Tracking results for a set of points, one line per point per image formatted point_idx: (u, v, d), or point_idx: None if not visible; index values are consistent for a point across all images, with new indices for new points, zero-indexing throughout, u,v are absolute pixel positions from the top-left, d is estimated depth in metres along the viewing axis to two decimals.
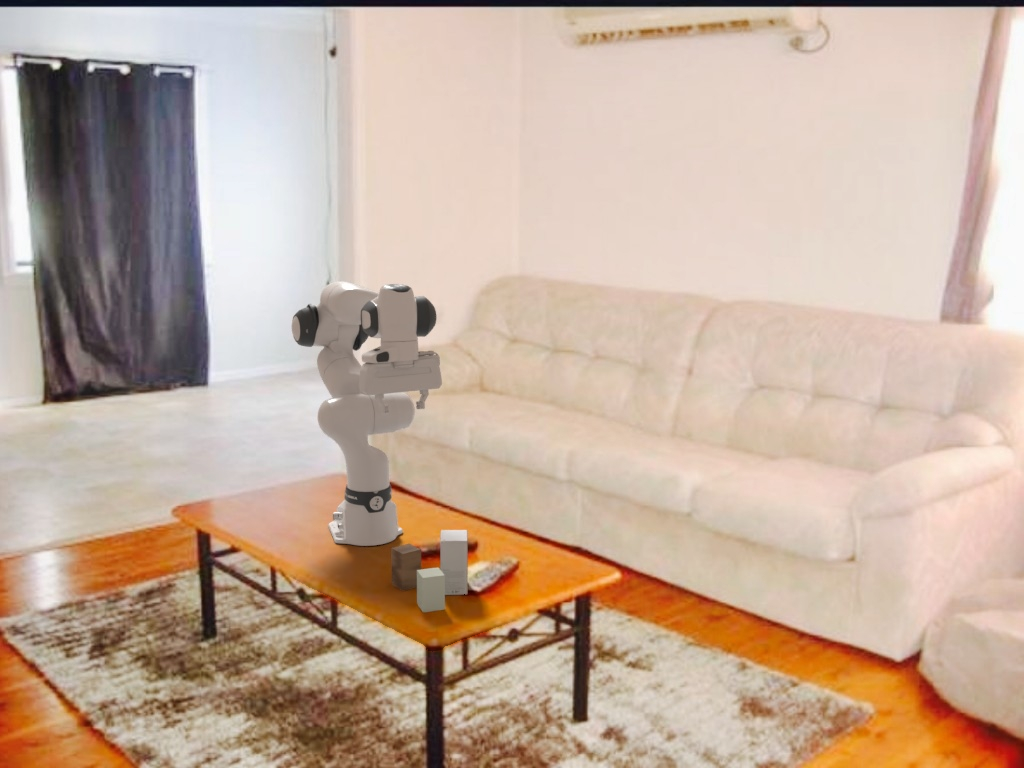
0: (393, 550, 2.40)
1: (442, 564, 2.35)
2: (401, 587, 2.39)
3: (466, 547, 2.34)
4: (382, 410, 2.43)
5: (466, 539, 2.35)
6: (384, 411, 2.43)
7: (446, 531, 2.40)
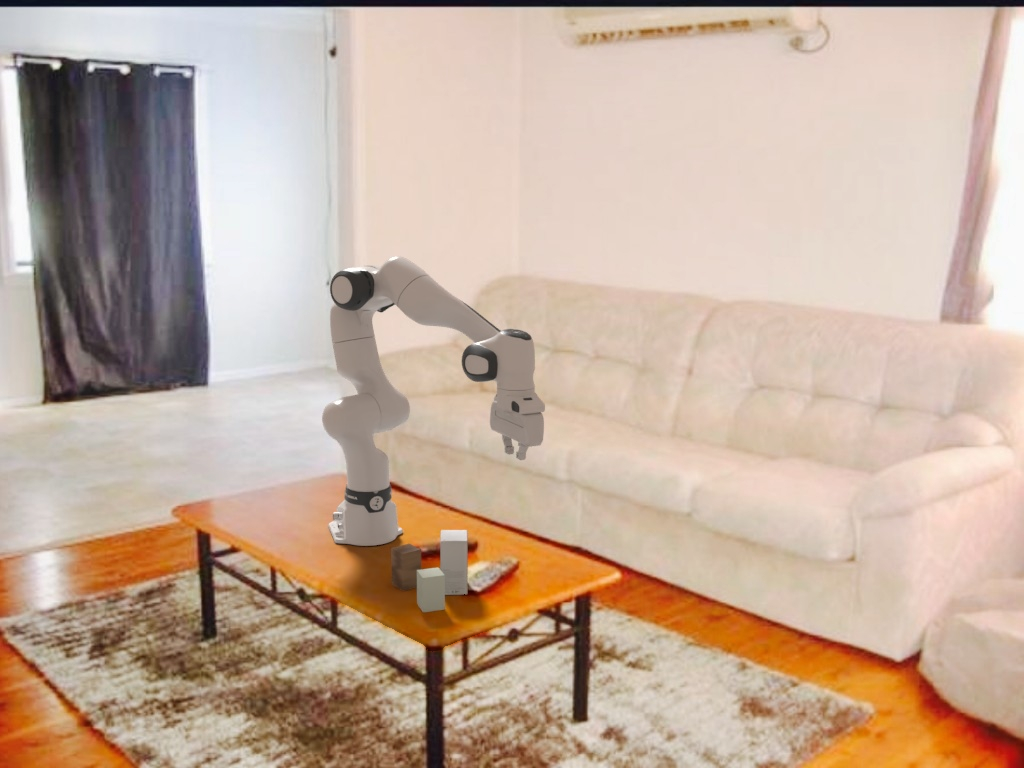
0: (393, 550, 2.40)
1: (442, 564, 2.35)
2: (401, 587, 2.39)
3: (466, 547, 2.34)
4: (524, 456, 2.41)
5: (466, 539, 2.35)
6: None
7: (446, 531, 2.40)
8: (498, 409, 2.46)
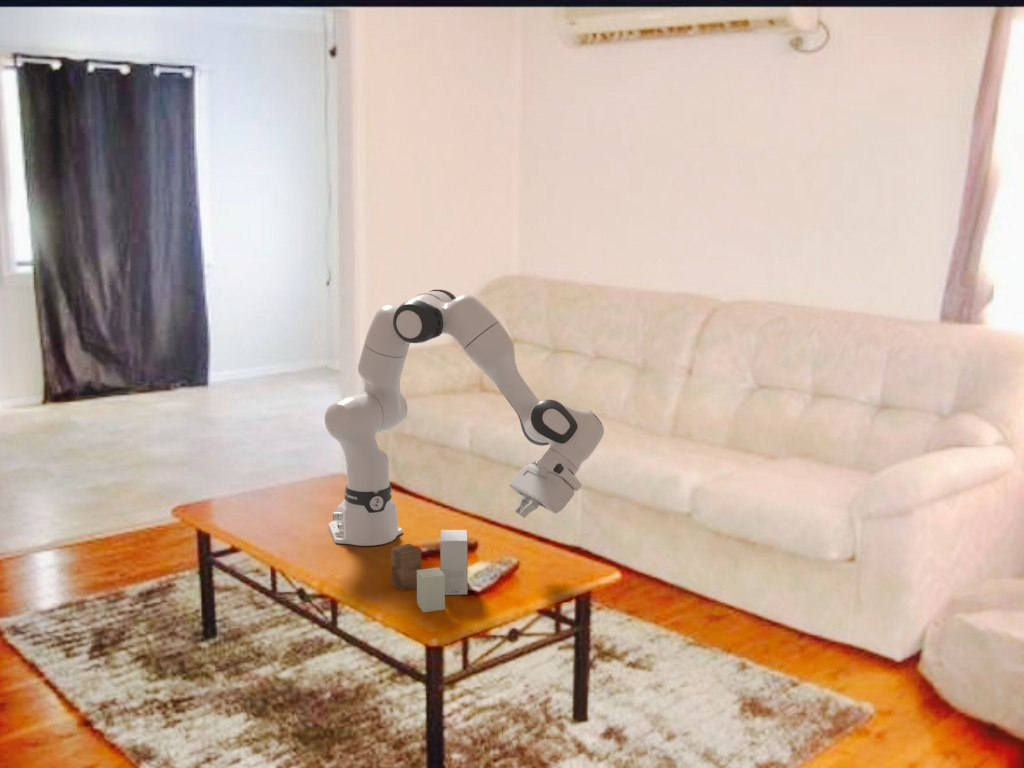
0: (393, 550, 2.40)
1: (442, 564, 2.35)
2: (401, 587, 2.39)
3: (466, 547, 2.34)
4: (525, 515, 2.44)
5: (466, 539, 2.35)
6: None
7: (446, 531, 2.40)
8: (531, 470, 2.51)
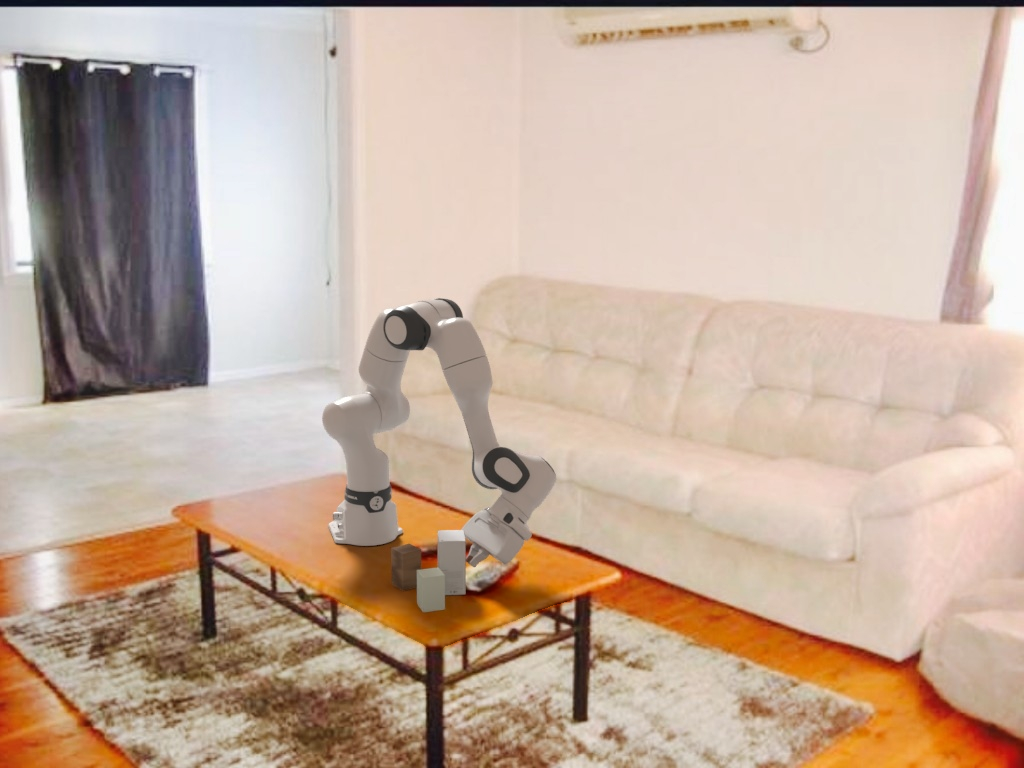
0: (393, 550, 2.40)
1: (440, 564, 2.34)
2: (401, 587, 2.39)
3: (464, 547, 2.34)
4: (475, 564, 2.40)
5: (464, 539, 2.35)
6: None
7: (443, 532, 2.40)
8: (482, 518, 2.47)
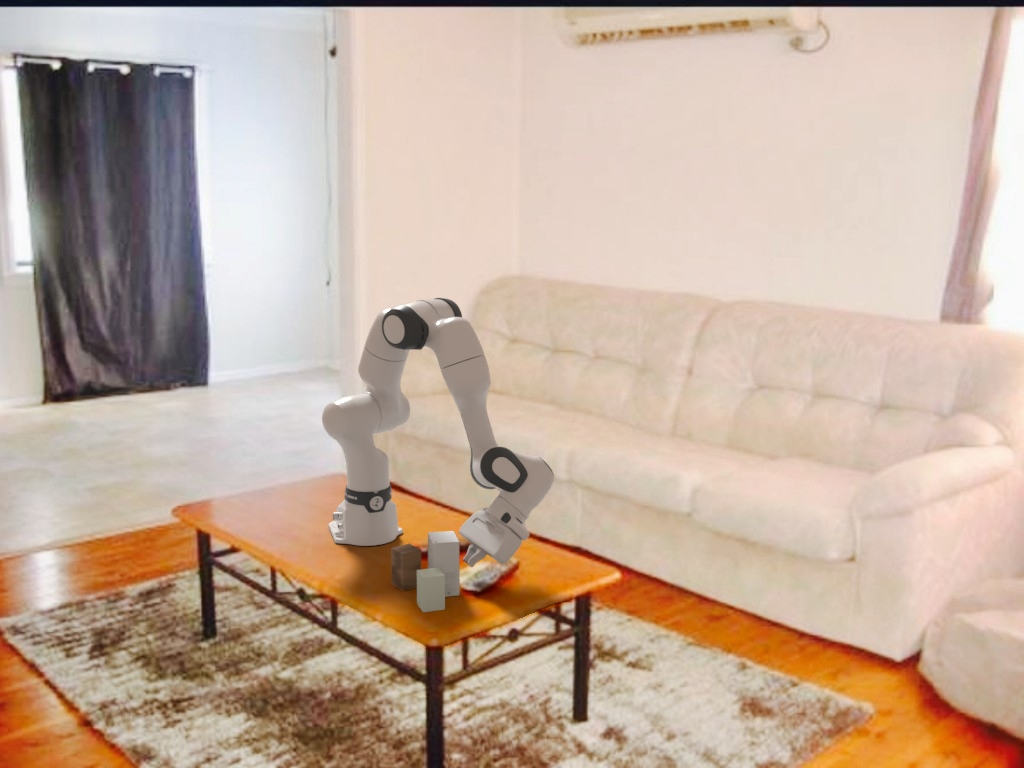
0: (393, 550, 2.40)
1: (434, 566, 2.33)
2: (401, 587, 2.39)
3: (458, 548, 2.34)
4: (472, 564, 2.40)
5: (457, 540, 2.35)
6: None
7: (434, 533, 2.39)
8: (480, 517, 2.46)
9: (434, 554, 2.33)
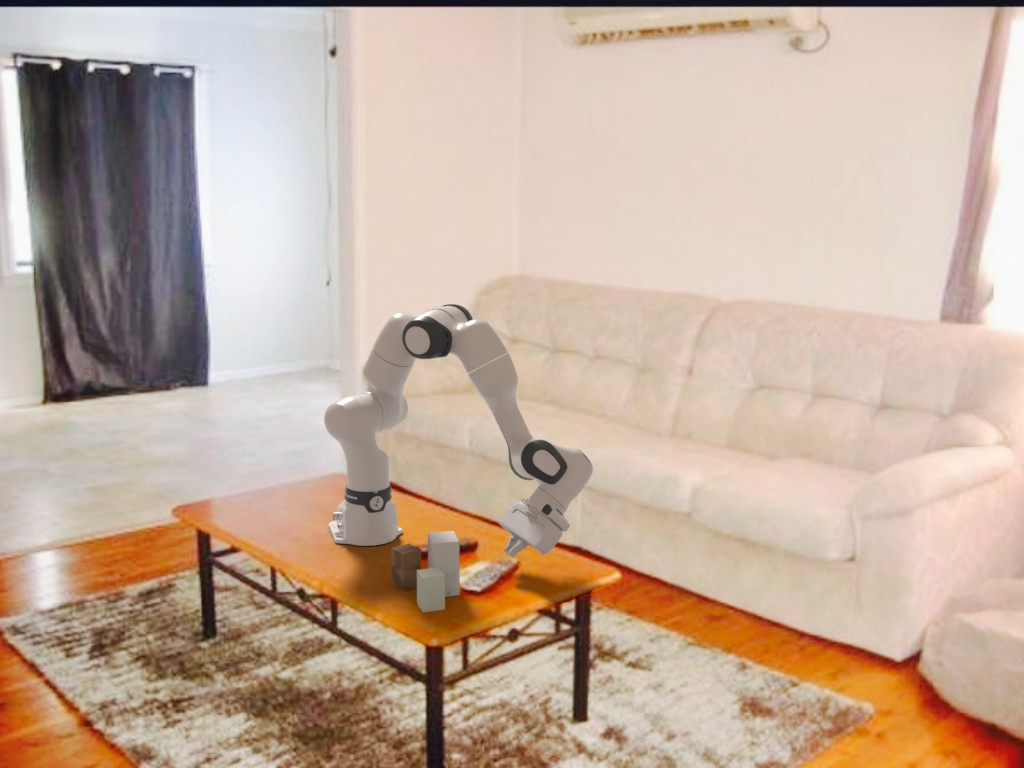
0: (393, 550, 2.40)
1: (434, 566, 2.33)
2: (401, 587, 2.39)
3: (458, 548, 2.34)
4: (514, 554, 2.45)
5: (457, 540, 2.35)
6: None
7: (434, 533, 2.39)
8: (520, 508, 2.51)
9: (434, 554, 2.33)
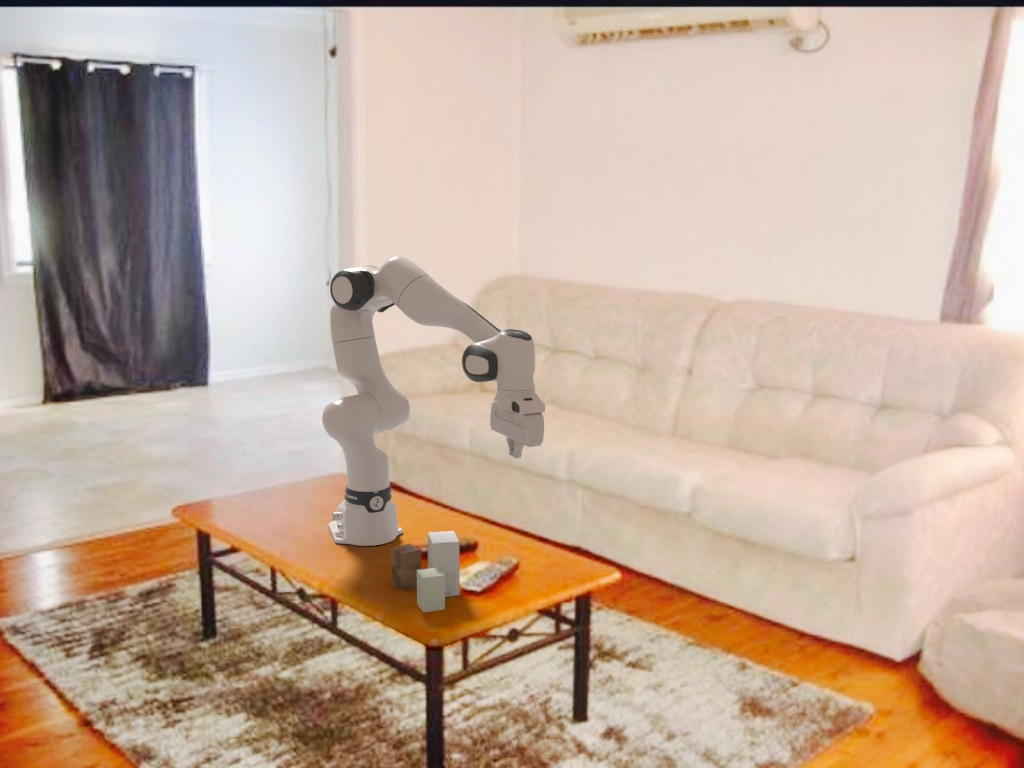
0: (393, 550, 2.40)
1: (434, 566, 2.33)
2: (401, 587, 2.39)
3: (458, 548, 2.34)
4: (520, 455, 2.43)
5: (457, 540, 2.35)
6: None
7: (434, 533, 2.39)
8: (498, 409, 2.46)
9: (434, 554, 2.33)
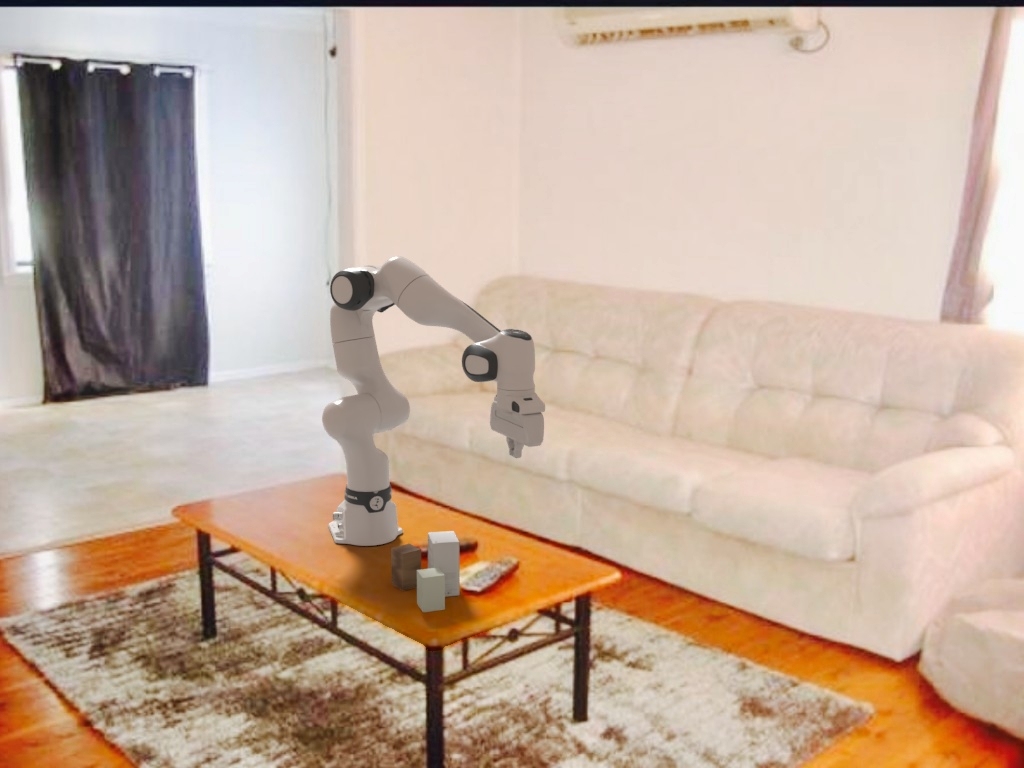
0: (393, 550, 2.40)
1: (434, 566, 2.33)
2: (401, 587, 2.39)
3: (458, 548, 2.34)
4: (519, 454, 2.43)
5: (457, 540, 2.35)
6: None
7: (434, 533, 2.39)
8: (498, 409, 2.46)
9: (434, 554, 2.33)
